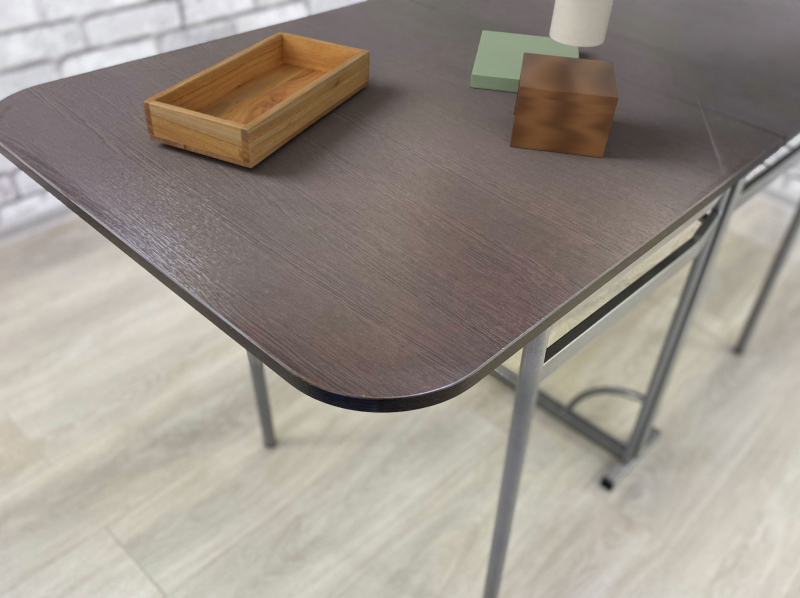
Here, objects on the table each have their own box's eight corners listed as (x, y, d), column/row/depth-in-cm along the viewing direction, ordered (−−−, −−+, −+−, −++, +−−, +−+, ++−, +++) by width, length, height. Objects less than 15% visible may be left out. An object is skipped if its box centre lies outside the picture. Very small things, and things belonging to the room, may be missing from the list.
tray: (281, 66, 110) (279, 27, 107) (369, 87, 106) (370, 47, 102) (149, 145, 90) (141, 100, 86) (251, 175, 85) (247, 129, 81)
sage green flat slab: (575, 52, 121) (578, 40, 119) (577, 99, 106) (580, 86, 105) (481, 42, 122) (482, 30, 121) (469, 87, 108) (471, 74, 106)
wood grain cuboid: (599, 119, 101) (613, 61, 96) (602, 157, 92) (618, 97, 87) (514, 109, 103) (523, 52, 97) (509, 146, 94) (519, 86, 88)
